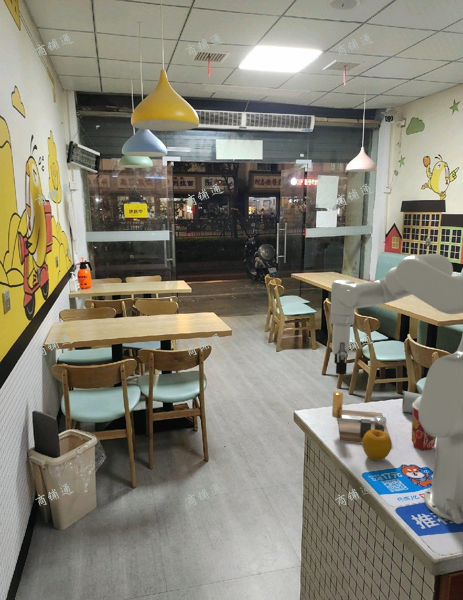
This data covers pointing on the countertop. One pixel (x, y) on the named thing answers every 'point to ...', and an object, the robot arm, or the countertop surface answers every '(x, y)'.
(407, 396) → the ceramic mug
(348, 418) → the lever
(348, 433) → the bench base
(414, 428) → the smoothie
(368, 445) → the apple
